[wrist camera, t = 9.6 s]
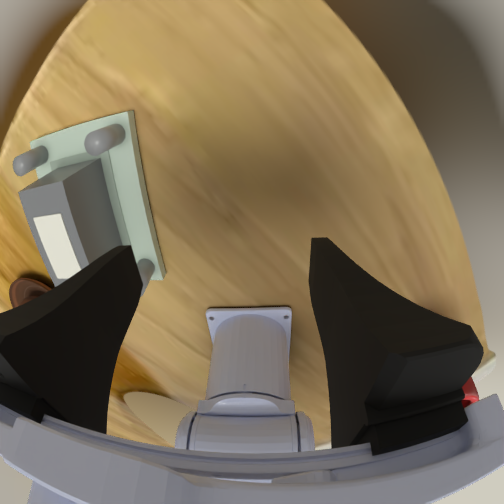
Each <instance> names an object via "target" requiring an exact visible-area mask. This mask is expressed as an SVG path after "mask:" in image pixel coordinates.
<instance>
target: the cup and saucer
mask: <svg viewBox="0 0 504 504" xmlns="http://www.w3.org/2000/svg"><path fill="white" fill-rule="evenodd" d="M49 290H51V288H50V287H48V286H47V285H45V284H43V283H41V282H39V281H37V280H34V279H29V278H20V279H17V280H15V281H14V282H13V283H12V284H11V286H10V289H9V296H10V301H11V304H12V306H13V308H16V307H18V306H20V305H23V304H25V303H27V302H29V301H31V300H33V299H35V298H37V297H39V296H41V295H43V294H44V293H46V292H48V291H49Z"/></svg>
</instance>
